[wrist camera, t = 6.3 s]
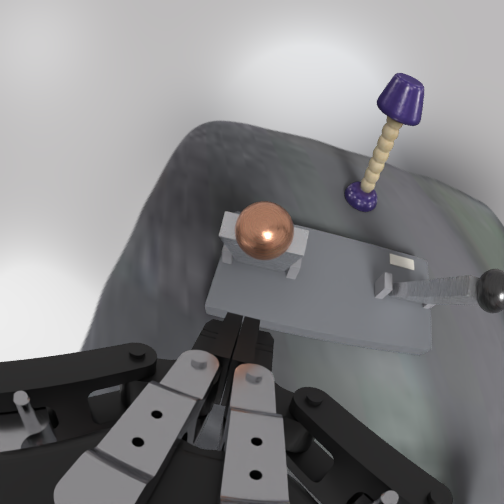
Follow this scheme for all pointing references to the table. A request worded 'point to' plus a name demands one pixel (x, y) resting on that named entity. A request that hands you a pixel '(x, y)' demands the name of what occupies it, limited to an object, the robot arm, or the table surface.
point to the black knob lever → (456, 291)
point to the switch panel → (330, 295)
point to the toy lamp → (388, 134)
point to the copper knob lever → (263, 236)
